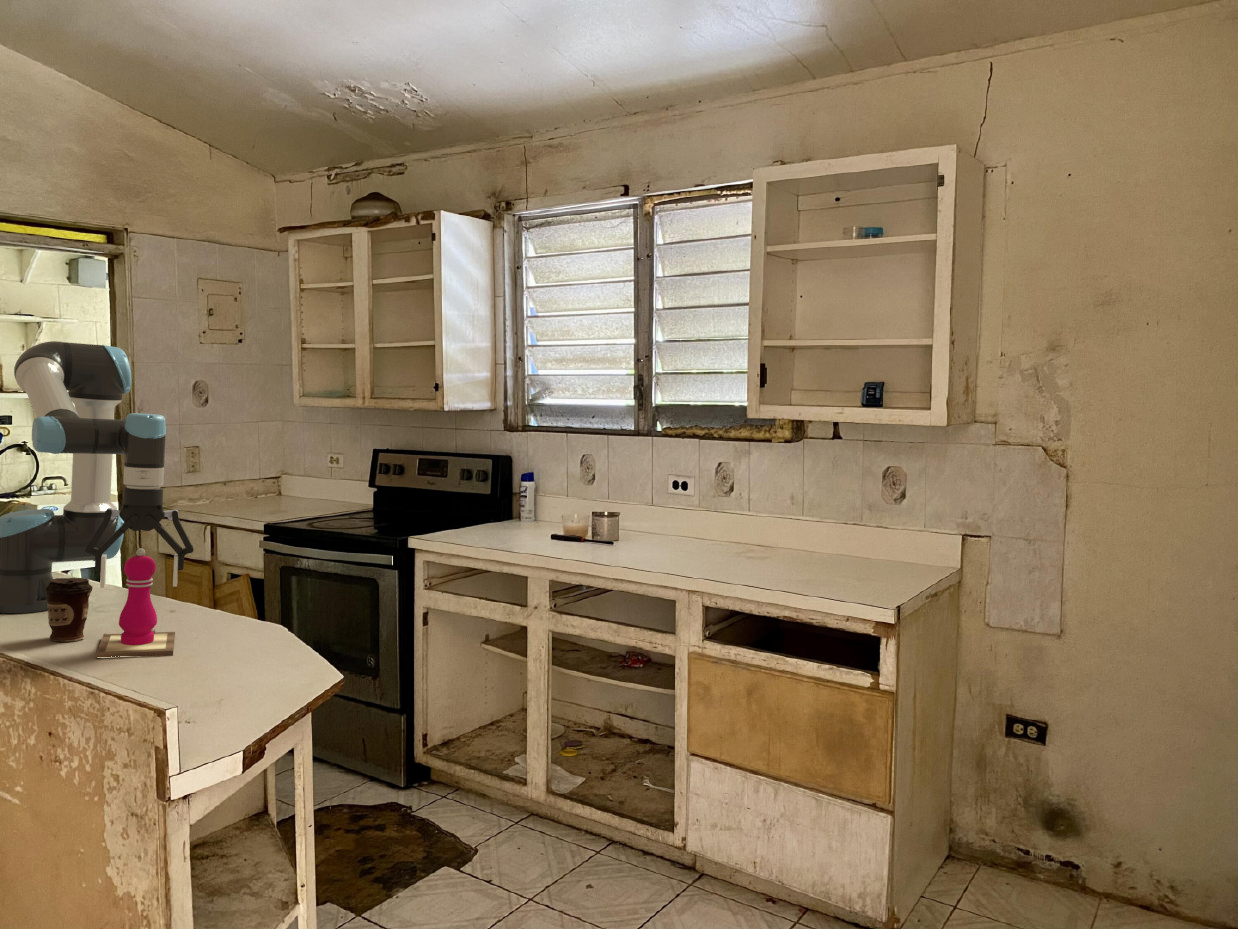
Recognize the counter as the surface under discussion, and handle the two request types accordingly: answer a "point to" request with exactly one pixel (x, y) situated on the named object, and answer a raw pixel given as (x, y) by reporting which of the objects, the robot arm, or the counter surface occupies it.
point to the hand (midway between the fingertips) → (139, 586)
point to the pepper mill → (138, 601)
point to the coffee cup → (68, 607)
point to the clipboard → (137, 646)
